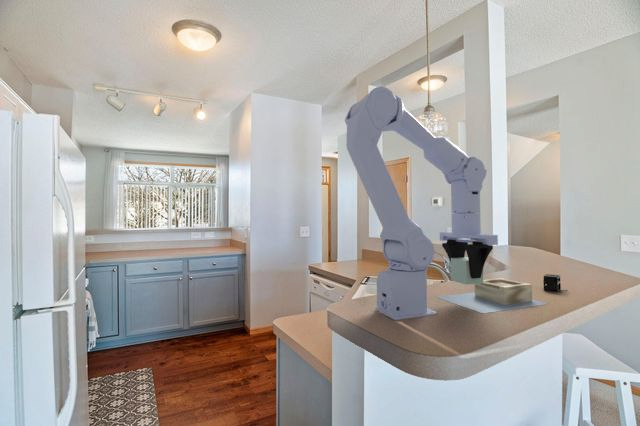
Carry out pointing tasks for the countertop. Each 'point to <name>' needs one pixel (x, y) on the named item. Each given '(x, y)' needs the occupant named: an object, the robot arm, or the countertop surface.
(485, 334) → the countertop surface
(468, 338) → the countertop surface
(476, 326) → the countertop surface
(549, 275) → the black box
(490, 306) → the mat
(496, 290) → the base brick
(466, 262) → the green brick
